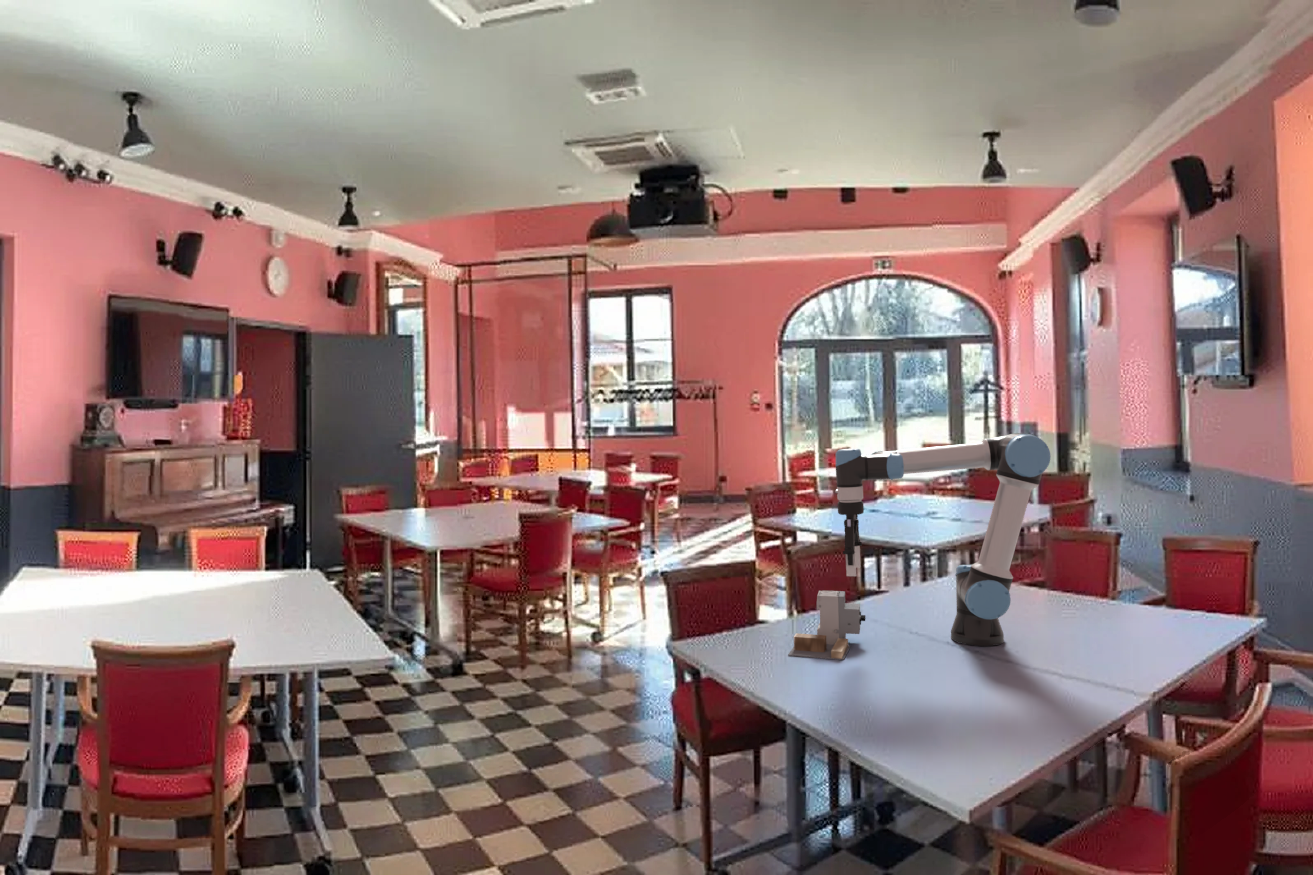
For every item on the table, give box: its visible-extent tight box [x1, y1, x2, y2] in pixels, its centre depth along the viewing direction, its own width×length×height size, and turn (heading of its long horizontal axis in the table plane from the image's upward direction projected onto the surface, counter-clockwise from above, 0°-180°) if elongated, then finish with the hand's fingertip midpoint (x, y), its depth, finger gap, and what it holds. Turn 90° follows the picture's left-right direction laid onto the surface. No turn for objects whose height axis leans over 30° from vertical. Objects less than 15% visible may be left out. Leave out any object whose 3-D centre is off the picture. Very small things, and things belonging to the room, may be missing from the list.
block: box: [793, 632, 826, 652], centre depth 251 cm, size 4×4×9 cm
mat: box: [787, 644, 851, 661], centre depth 250 cm, size 16×14×1 cm
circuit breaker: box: [816, 590, 867, 645], centre depth 259 cm, size 8×14×15 cm, turn 75°
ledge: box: [831, 638, 849, 659], centre depth 248 cm, size 3×14×2 cm, turn 160°
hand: (853, 571), depth 251 cm, fingers open, 13 cm apart
